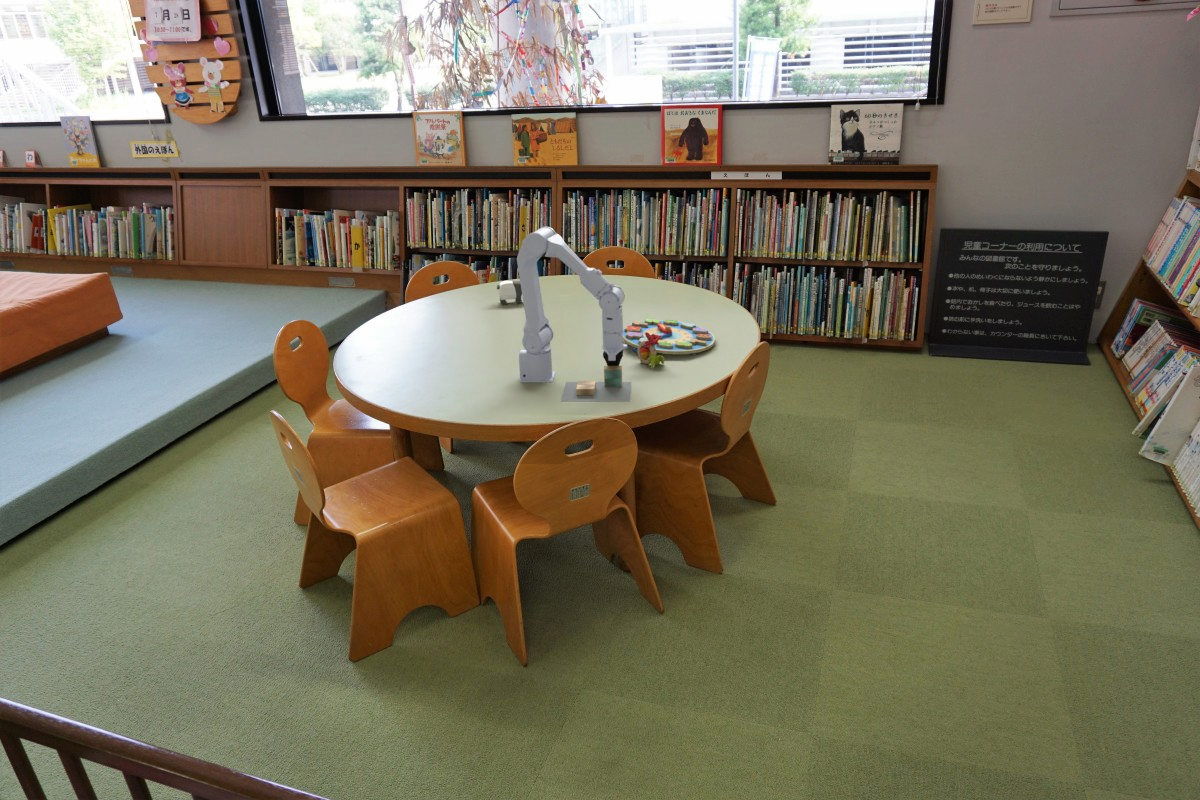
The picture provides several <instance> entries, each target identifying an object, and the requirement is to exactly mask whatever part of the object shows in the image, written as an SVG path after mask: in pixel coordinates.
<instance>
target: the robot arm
mask: <svg viewBox="0 0 1200 800" xmlns="http://www.w3.org/2000/svg"><path fill="white" fill-rule="evenodd" d="M544 254H545V255H544ZM543 255H544V257H545V258H546V257H547V258H557V259H559V260H560V261H561V262H562V263H563V264H565V266H567V267H568V268H569V269H570V270H572V271H573V272H574V273H575V274H576V275H578V276H579V282H580V285H582V286H583V287H584V288H585V289H586V290H587V291H588V292H589V293H590V294H591V295H592V296H593V297H595V298H596V300H598V306H599V307H600V309H601V313H602V315H601V318H602V319H601V321H602V327H601V328H602V346H601V347H602V348H601V349H602V350H603V353H602V357H603V359H604V361H605V363H606V366H620V364H621V360H622V358H623V356H624V350H625V349H628V344H627V343H624V340H623V328H624V321H623V320H624V316H623V315H624V314H623V305H622V304H623V303H624V301H625V298H626V297H625V292H624V290H623V289H622V287H620V286H619V285H615V284H614V283H613V282H610V281H609V280H608V279H607V277H605V276H603V271H601V269H596V268H595V267H588V266H587V265H586V263H585V262H584V261H583V260H582V259H581V258H580V257H579V256H578V255H577V254H576V253H575V252H574V250H572V248H571V247H569V245H568V244H567V243H566V242H565V241H564V238H563V237H562V236H561V235H560V234H558V233H557V232H556V231H555V230H554V228H552V227H549V226H542V227H540V228H539V229H537V230H535V231H533V232H531V233H528V234H527V236H526V237H524V238H523V239H522V241H521V245H520V248H519V251H518V254H517V257H516V263H517V269H518V277H519V281H520V284H521V290H522V296H521V297H522V302H523V306H524V307H523V308H524V314H525V323H524V326H523V329H522V330H523V338H522V347H523V348H524V349H520V350H519V355H518V364H519V382H520V383H553V381H554V378H555V374H556V371H554V370H553V361H552V360H553V359H552V346H551V341H552V340H553V338H554V331H553V328H552V327H551V326H550V323H549V319H548V318H547V317H546V316H545V312H544V304H543V298H542V291H541V290H542V289H541V286H540V285H541V284H540V277H539V270H538V265H537V263H538V261H539V260H540V259H541V258H542V256H543Z"/></svg>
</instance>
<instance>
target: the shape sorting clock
mask: <svg viewBox="0 0 1200 800" xmlns="http://www.w3.org/2000/svg"><path fill="white" fill-rule="evenodd" d="M646 332H647V333H649V334H650V335H652V334H655V335H660V336H661V338H660V339H659V340H658V342H659V345H656V344H654V346H655V349H656V354H657V353H662V354H665V355H681V354H695V355H697V353H701V352H705V351H706V350H709V349H711V348H712V347H713V346H714V345H715V342H716V337H715V335H714V334H713V332H711V331H710V330H709V329H708V328H704V327H701V326H699V325H697V324H696V323H688V322H683V321H678V320H676V319H664V320H663V319H652V318H646V319H644V320H641V321H632V322H631V323H630V324H627V325H625V326H623V342H625V344H627V345H629V346H631V347H632V349H633V351H634V353H636V352H637V350H638V346H639V344H640V343H641V342H642V341H648V339H647V337H646V335H645V333H646ZM644 347H646V346H644Z"/></svg>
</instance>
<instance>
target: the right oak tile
mask: <svg viewBox="0 0 1200 800" xmlns="http://www.w3.org/2000/svg"><path fill="white" fill-rule="evenodd" d="M603 379H604V381H603V382H604V384H605V387H622V382H623V365H619V366H607V365H604V366H603Z"/></svg>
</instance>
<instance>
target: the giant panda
mask: <svg viewBox="0 0 1200 800" xmlns="http://www.w3.org/2000/svg"><path fill="white" fill-rule="evenodd" d="M496 290H498V296H499V301H500V305H501V306H508V305H509V303H508V301H507V300H515V302H516V305H524V303H523V299H522V297H523V296H522V290H521V284H520V280H518V281H516V280H504V281H500V282H499V284H498V285H496Z"/></svg>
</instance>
